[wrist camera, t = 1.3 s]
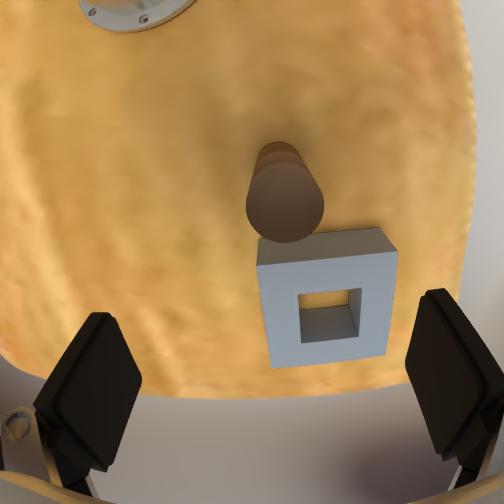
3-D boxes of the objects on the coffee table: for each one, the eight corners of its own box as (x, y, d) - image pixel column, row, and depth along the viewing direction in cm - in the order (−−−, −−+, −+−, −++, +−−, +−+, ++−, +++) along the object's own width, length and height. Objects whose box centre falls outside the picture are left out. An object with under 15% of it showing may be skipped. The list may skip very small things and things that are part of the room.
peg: (253, 144, 25) (240, 173, 14) (298, 139, 24) (321, 164, 13) (259, 186, 26) (251, 246, 15) (302, 182, 26) (325, 239, 15)
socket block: (258, 239, 28) (256, 265, 24) (379, 227, 27) (398, 251, 22) (271, 334, 33) (271, 368, 28) (373, 323, 32) (385, 354, 27)
